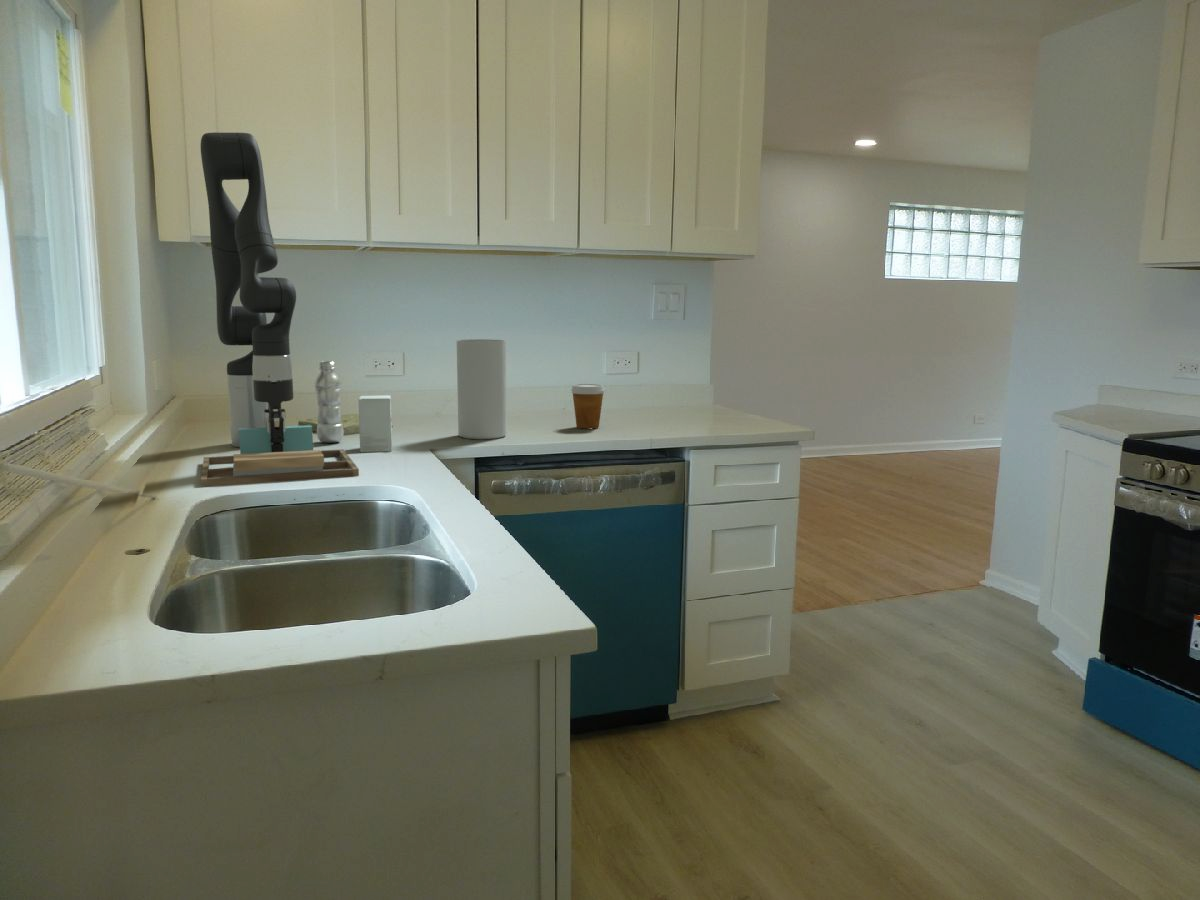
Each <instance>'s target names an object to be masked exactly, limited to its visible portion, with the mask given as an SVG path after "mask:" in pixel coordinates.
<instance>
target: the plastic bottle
mask: <svg viewBox="0 0 1200 900" xmlns="http://www.w3.org/2000/svg"><path fill="white" fill-rule="evenodd" d="M335 365H336V362H335V361H328V360H327V361H319V368H318V370H320V372H319V374H317V376H316V378H315V380H314V390H315V395H316V401H317V411H318V413H317V417H318V425H317V432H316V437H317V439H318V440H319V442H322V443H328V444H334V443H337V442H341V441H342V440H343V438H344V436H343V434H344V430H343V425H342V423H341V422H342V421H341V415H342V414H341V392H342V381H341V379H340V377H339V376H338V374H337V373H336V372H335V370H336V366H335Z"/></svg>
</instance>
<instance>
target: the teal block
mask: <svg viewBox="0 0 1200 900" xmlns="http://www.w3.org/2000/svg"><path fill="white" fill-rule="evenodd" d="M273 437H280V434H274V435H273ZM313 437H314V436H313V431H312V426H311V425H307V426H298V425H290V426H288V425H287V426H286V425H285V432H284V442H283V452H289V451H308V450H314V440H313ZM239 440H240V447H239V451H240V452H239V454H252V453H270V452H272V450H271V443H270V433H268V432H267V427H263V428H242V429H239Z"/></svg>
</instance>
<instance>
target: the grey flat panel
mask: <svg viewBox="0 0 1200 900" xmlns="http://www.w3.org/2000/svg"><path fill="white" fill-rule="evenodd" d="M232 464H233V467H232V468H233V475H232V476H245V475H261V474H276V473H291V472H306V471H321V470H324V469H323V466H316V467H299V468H283V469H266V470H250V471H234V463H232Z"/></svg>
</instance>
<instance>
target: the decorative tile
mask: <svg viewBox="0 0 1200 900" xmlns="http://www.w3.org/2000/svg"><path fill="white" fill-rule="evenodd" d="M341 421H342V422H341V423H342V425H343V430H344V434H343V437H344V436H345V437H346V436H352V435H360V431H359V413H346V414H341ZM297 423H298V425H297V426H307V425H311V426H312V432H315V433H317V425H318V416H314V417H309V418H307V419H299V420H298V422H297ZM392 429H393V425H392Z"/></svg>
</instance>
